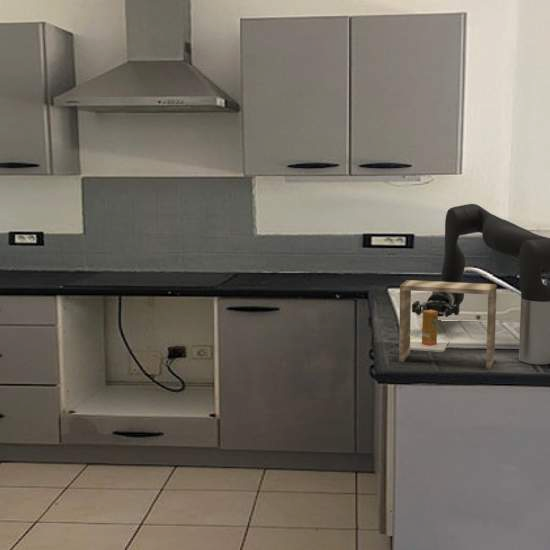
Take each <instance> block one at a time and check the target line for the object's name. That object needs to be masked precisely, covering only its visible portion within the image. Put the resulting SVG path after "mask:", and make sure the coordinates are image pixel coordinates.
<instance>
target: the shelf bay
mask: <svg viewBox="0 0 550 550" xmlns="http://www.w3.org/2000/svg"><path fill="white" fill-rule="evenodd" d="M497 286H498V285H497V284H496V283H477V282H476V283H474V282H463V283H457V282H438V281H436V280H435V281H434V280H433V281H432V280H414V279H413V280H410V279H409V280H408V279H407V280H405V281H404V282H402V283H401V284H400V285H399V336H398V338H399V339H398V341H399V342H398V343H399V344H398V346H399V347H398V348H399V349H398V352H399V353H398V356H399V357H398V362H399V363H404V362H405V361H406V360H407V359H408V358H409V357H410V355H411V350H410V341H411V316H412V315H411V313H412V301H411V300H412V297H411V296H412V292H413V291H414V292H416V291H417V292H430V293H431V292H449V293H464V294H472V295H473V294H475V295H487V323H486V324H487V325H486V326H487V327H486V329H487V330H486V356H485V357H486V358H485V360H486V361H485V369H486V370H491V369H492V368H493V365H494V362H495V356H496V355H495V353H496V352H495V349H496V319H497V316H496V315H497Z"/></svg>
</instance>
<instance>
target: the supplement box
mask: <svg viewBox="0 0 550 550" xmlns="http://www.w3.org/2000/svg"><path fill="white" fill-rule="evenodd" d="M438 322H439V317H438V312H437V311H435V310H426V311H423V313H422V328H421V339H422V344H424V345H428V346H431V345H435V344H436V343H437V340H438V339H437V338H438Z"/></svg>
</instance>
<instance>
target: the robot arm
mask: <svg viewBox="0 0 550 550" xmlns="http://www.w3.org/2000/svg"><path fill="white" fill-rule="evenodd" d="M445 214H446V215H445V218H444V219H445V220H444V256H443V257H444V259H443V264H442V269H441V274H440V277H441V280H439V281H438V280H437V282H457V283H464V281H463V279H464V277H463V276H464V273H465V267H466V259H465V258H466V257H465V256H464V253H463V251H462V249H461V248H460V247H459V244H458V241H459V240H458V239H459V237H460V236H465V235H470V234H475V233H481V236H482V240H483V243H484V244H485V245H486V247H488V248H489V249H491V250H493V251H495V252H497V253H499V254H502V255H506V256H510V257H516V258H518V268H519V269H518V271H519V275H518V277H519V278H518V279H519V280H518V283H519V289H520V316H519V320H520V321H519V342H518V344H519V345H518V347H519V349H518V360H519V361H520V362H522V363H525V364H530V365H540V366H541V365H542V366H543V365H550V285H547V284H546V283H544V282H543V280H542V274H544V275H545V274H550V237H546V236H543V235H540V234H537V233H534V232H533V231H530V230H528V229H526V228H523V227H521V226H519V225H517V224H515V223H513V222H510V221H508V220H506V219H503V218H501V217H499V216H497V215H495V214H492V213H491V212H489V211H488V210H487V209H485V208H484V207H482V206H480V205H479V204H476V203H468V204H467V203H466V204H463V205H456V206H453V207H450V208H449V209H448V210H447V212H446V213H445ZM464 298H465V293H449V292H432V294H431V295H430V296H429V297H428V298H427V300H426V301H424V302H422V303H421V301H420V300H417V301H415V302H413V303H411V313H415V314H416V315H417V316H421V314H423V311H426V310H435V311H437V312H438V318H440V317H445V318H448V317H449V316H452V315H453V314H454V316H458V315H459V314H460V308H461V304H462V303H463V301H464Z"/></svg>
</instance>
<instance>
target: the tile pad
mask: <svg viewBox="0 0 550 550" xmlns="http://www.w3.org/2000/svg"><path fill="white" fill-rule="evenodd" d="M447 344H448V343H447ZM447 344H441V343H439V344H438V343H436V344H435V345H431V346H428V345H424V344H422V342H415V343H414V342H410V351H411V350H412V351H421V352H422V351H425V352H436V353H444V352H445V350H446V349H447V347H448V346H447ZM448 345H449V344H448Z"/></svg>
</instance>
